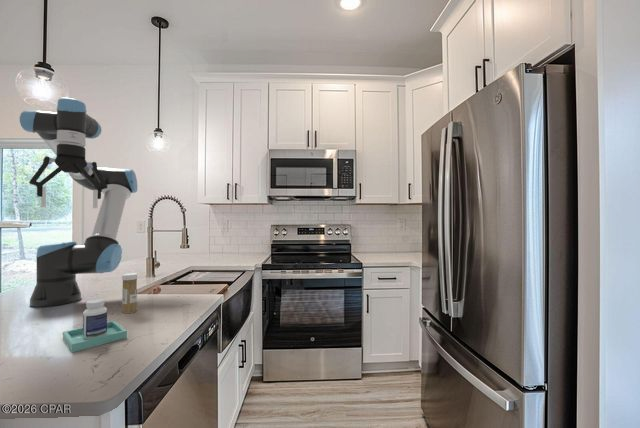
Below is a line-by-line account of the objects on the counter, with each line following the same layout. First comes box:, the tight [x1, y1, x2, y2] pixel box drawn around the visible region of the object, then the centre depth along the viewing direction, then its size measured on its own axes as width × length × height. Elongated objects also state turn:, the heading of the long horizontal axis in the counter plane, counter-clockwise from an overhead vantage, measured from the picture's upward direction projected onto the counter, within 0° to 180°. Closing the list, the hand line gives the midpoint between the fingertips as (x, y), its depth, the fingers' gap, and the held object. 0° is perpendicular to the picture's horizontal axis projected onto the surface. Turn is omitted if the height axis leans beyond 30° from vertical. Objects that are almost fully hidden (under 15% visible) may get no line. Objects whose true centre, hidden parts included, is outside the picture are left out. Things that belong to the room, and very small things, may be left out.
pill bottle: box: [82, 298, 108, 339], centre depth 83 cm, size 5×5×10 cm
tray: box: [62, 320, 128, 353], centre depth 82 cm, size 12×12×2 cm
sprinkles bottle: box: [121, 272, 138, 314], centre depth 105 cm, size 5×5×14 cm
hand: (70, 207), depth 101 cm, fingers open, 13 cm apart
